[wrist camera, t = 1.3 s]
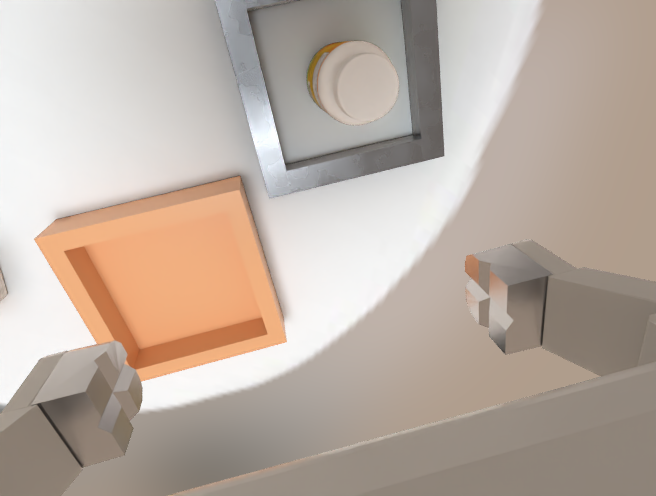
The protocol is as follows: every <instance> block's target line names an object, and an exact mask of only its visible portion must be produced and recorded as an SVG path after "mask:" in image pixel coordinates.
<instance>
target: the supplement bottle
mask: <svg viewBox="0 0 656 496" xmlns="http://www.w3.org/2000/svg"><path fill="white" fill-rule="evenodd" d="M307 87H308V91H309V94H310V96H311V98H312V99H313V101H314V102H315V103H316V104H317V105H318V106H319V107H320V108H321V109H322V110H324V111H325V112H326V113H328V114H329V115H330V116H331V117H333V118H334V119H335V120H337V121H339V122H341V123H344V124H347V125H364V124H367V123H370V122H372V121H375V120H378V119H380V118H382V117H383V116H385V115H386V114H387V113H388V112H389V111H390V110H391V108H392V107H393V105H394V104H395V102H396V99H397V96H398V92H399V79H398V75H397V72H396V70H395V68H394V67H393V65H392V64H391V61H390V60H389V58H388V56H387V55H386V54H385V53H384V52H383V51H382V50H381V49H380V48H379V47H377V46H376V45H374V44H372V43H369V42H365V41H346V42H337V43H332V44H329V45H327V46H325V47H323V48H322V49H320V50H319V51H318V52H317V53H316V54H315V55H314V57H313V58H312V60H311V62H310V64H309V67H308V70H307Z"/></svg>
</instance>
